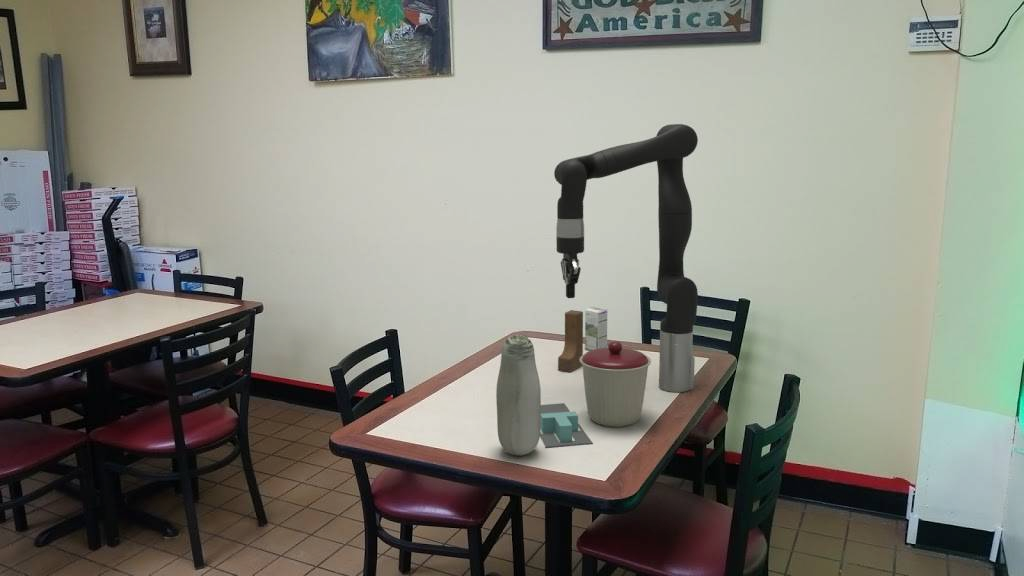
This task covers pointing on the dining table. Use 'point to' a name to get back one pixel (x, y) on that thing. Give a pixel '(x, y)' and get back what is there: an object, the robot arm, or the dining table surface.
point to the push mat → (551, 438)
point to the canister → (614, 384)
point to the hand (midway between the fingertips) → (570, 297)
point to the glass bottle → (518, 397)
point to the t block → (559, 424)
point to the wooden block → (572, 342)
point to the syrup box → (595, 328)
